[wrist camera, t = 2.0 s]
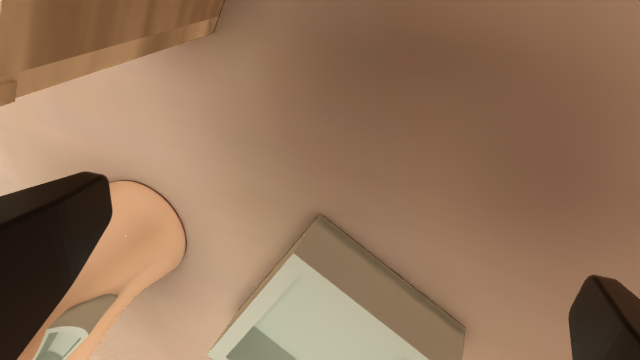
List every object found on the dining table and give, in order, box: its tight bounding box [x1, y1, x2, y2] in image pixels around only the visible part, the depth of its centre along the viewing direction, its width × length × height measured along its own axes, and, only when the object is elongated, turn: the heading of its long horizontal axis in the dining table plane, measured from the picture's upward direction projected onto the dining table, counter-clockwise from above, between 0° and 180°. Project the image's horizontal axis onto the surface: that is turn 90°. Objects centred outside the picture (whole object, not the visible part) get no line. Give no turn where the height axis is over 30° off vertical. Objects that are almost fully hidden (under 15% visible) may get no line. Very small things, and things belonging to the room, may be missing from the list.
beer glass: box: [17, 181, 186, 360], centre depth 22 cm, size 7×7×15 cm
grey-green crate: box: [207, 214, 465, 360], centre depth 25 cm, size 9×9×4 cm
